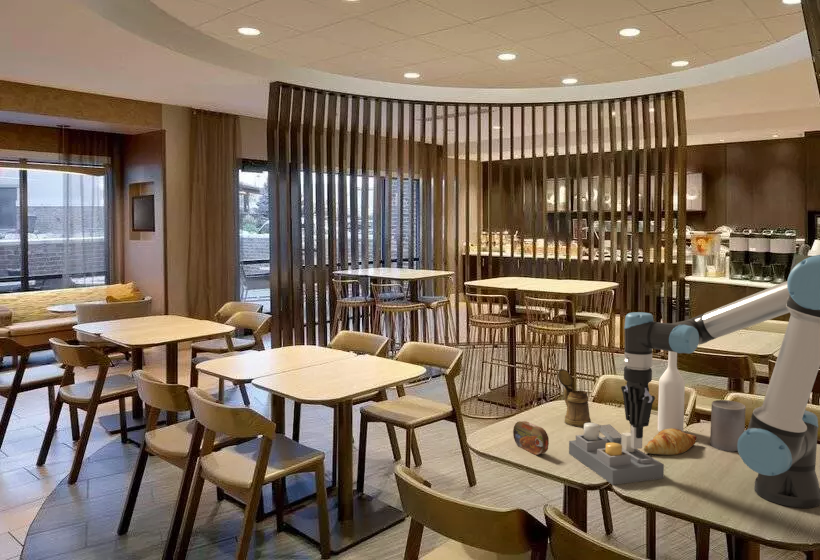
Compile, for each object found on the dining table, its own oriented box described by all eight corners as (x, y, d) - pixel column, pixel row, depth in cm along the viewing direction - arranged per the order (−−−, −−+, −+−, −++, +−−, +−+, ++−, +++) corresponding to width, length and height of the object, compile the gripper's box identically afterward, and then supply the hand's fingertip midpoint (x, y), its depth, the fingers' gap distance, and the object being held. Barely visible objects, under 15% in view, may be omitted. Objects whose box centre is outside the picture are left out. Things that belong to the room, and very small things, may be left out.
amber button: (624, 460, 176) (625, 447, 176) (610, 462, 175) (611, 448, 175) (615, 455, 181) (616, 441, 180) (602, 456, 180) (602, 443, 179)
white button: (601, 439, 188) (601, 426, 187) (588, 441, 187) (588, 428, 186) (593, 434, 192) (594, 422, 192) (580, 436, 191) (581, 423, 191)
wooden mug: (568, 414, 234) (569, 366, 232) (596, 424, 222) (597, 374, 221) (550, 418, 230) (551, 369, 228) (578, 428, 218) (578, 377, 216)
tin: (512, 443, 204) (512, 418, 203) (520, 442, 206) (520, 416, 205) (542, 459, 191) (542, 432, 190) (550, 457, 192) (550, 430, 191)
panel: (663, 478, 176) (664, 455, 175) (612, 484, 172) (613, 461, 171) (614, 448, 199) (615, 428, 198) (568, 453, 195) (569, 432, 194)
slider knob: (634, 451, 184) (634, 435, 184) (626, 452, 184) (626, 436, 183) (629, 448, 187) (629, 432, 186) (621, 449, 186) (621, 433, 186)
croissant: (651, 469, 191) (661, 450, 187) (630, 444, 199) (639, 426, 194) (701, 456, 200) (711, 438, 196) (678, 433, 207) (688, 415, 203)
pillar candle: (712, 438, 207) (714, 394, 205) (746, 444, 201) (747, 398, 200) (707, 448, 199) (709, 402, 197) (742, 454, 193) (744, 406, 192)
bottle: (679, 428, 218) (682, 342, 215) (686, 435, 210) (689, 347, 207) (655, 427, 219) (657, 341, 216) (660, 434, 211) (663, 346, 208)
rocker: (622, 442, 190) (623, 437, 190) (612, 443, 190) (613, 438, 189) (609, 429, 198) (610, 424, 197) (599, 430, 197) (599, 425, 196)
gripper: (613, 363, 184) (612, 441, 186) (639, 373, 172) (638, 457, 174) (636, 361, 186) (634, 439, 188) (663, 371, 174) (662, 454, 176)
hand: (636, 447), depth 181 cm, fingers closed
